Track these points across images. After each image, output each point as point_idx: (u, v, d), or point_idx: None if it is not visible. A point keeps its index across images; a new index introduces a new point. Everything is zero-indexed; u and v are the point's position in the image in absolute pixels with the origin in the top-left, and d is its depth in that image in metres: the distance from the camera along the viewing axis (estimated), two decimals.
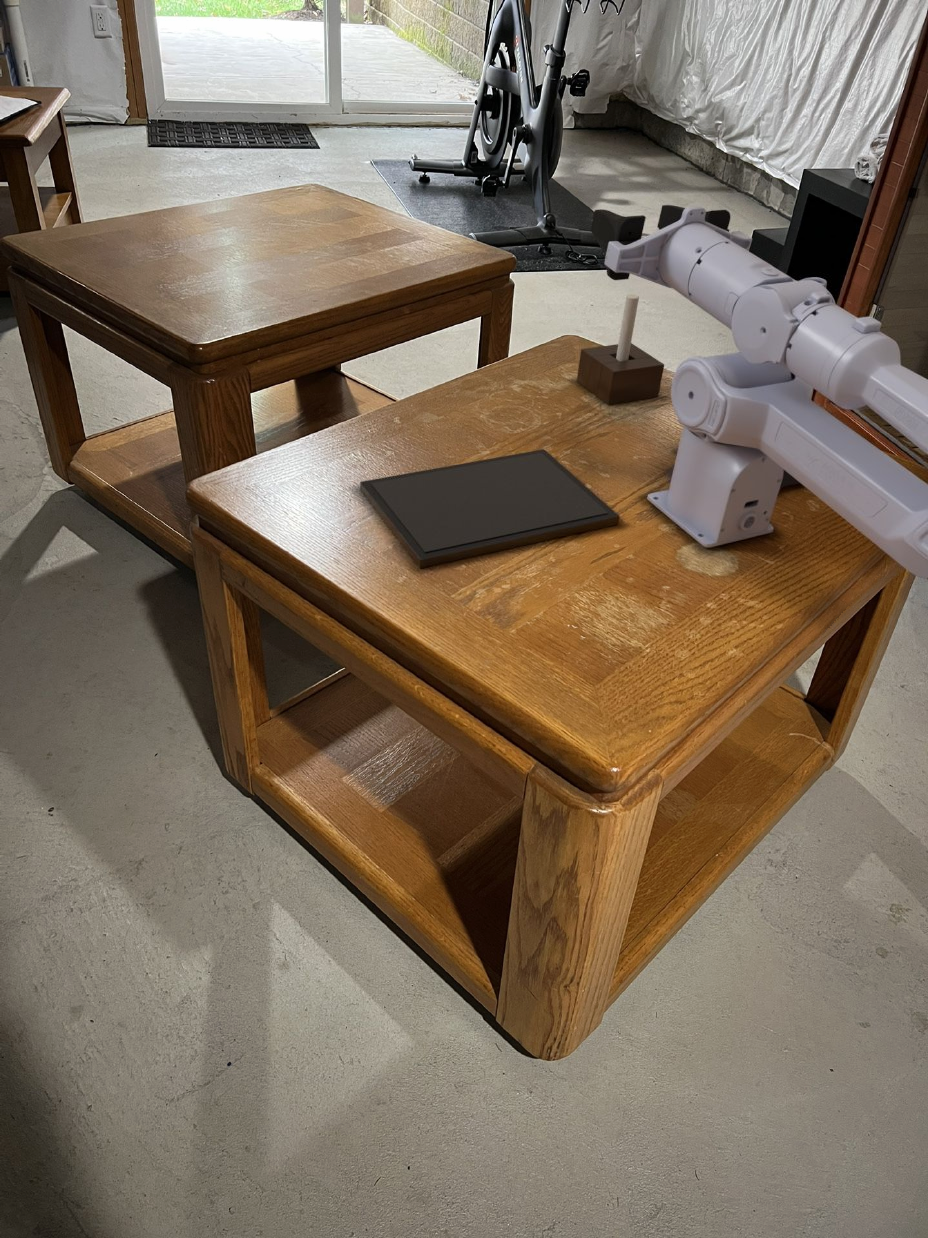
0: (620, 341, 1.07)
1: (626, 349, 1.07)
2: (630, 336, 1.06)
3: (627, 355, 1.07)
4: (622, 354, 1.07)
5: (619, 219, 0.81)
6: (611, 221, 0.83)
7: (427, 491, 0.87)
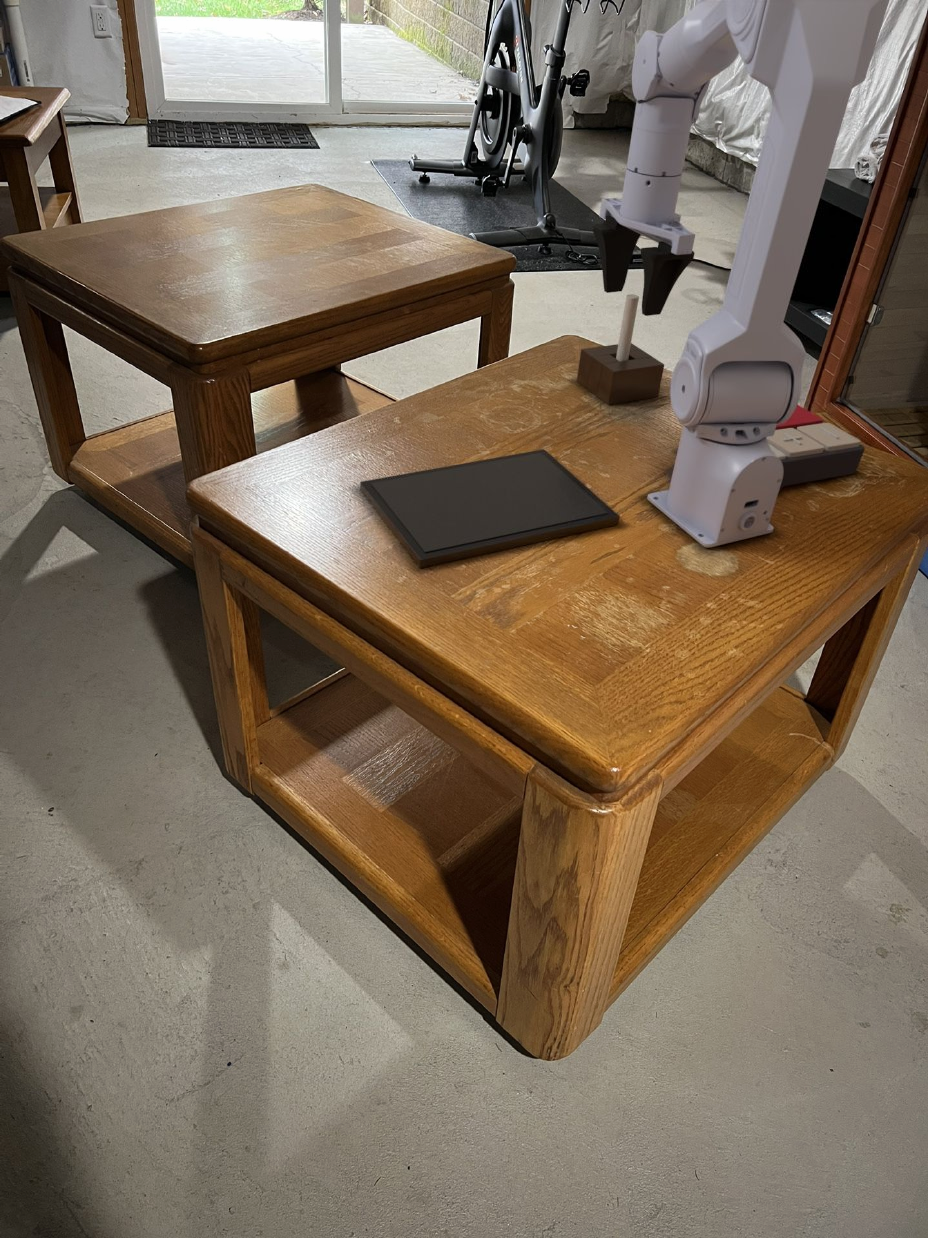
0: (620, 341, 1.07)
1: (626, 349, 1.07)
2: (630, 336, 1.06)
3: (627, 355, 1.07)
4: (622, 354, 1.07)
5: None
6: None
7: (427, 491, 0.87)
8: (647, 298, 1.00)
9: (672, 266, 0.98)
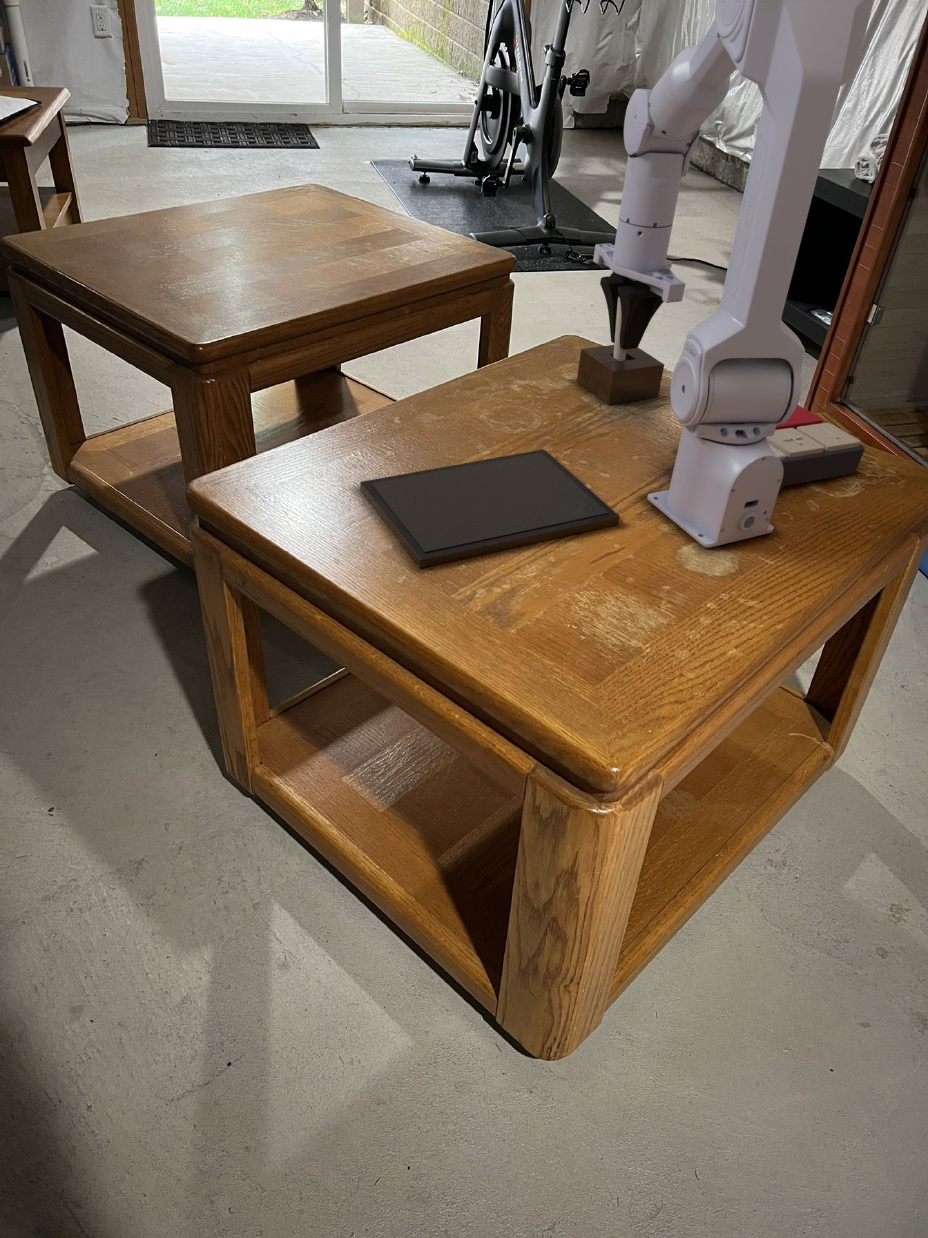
0: (616, 342, 1.06)
1: (622, 350, 1.07)
2: None
3: (624, 355, 1.07)
4: (619, 355, 1.07)
5: None
6: None
7: (427, 491, 0.87)
8: (624, 334, 1.04)
9: (648, 303, 1.03)
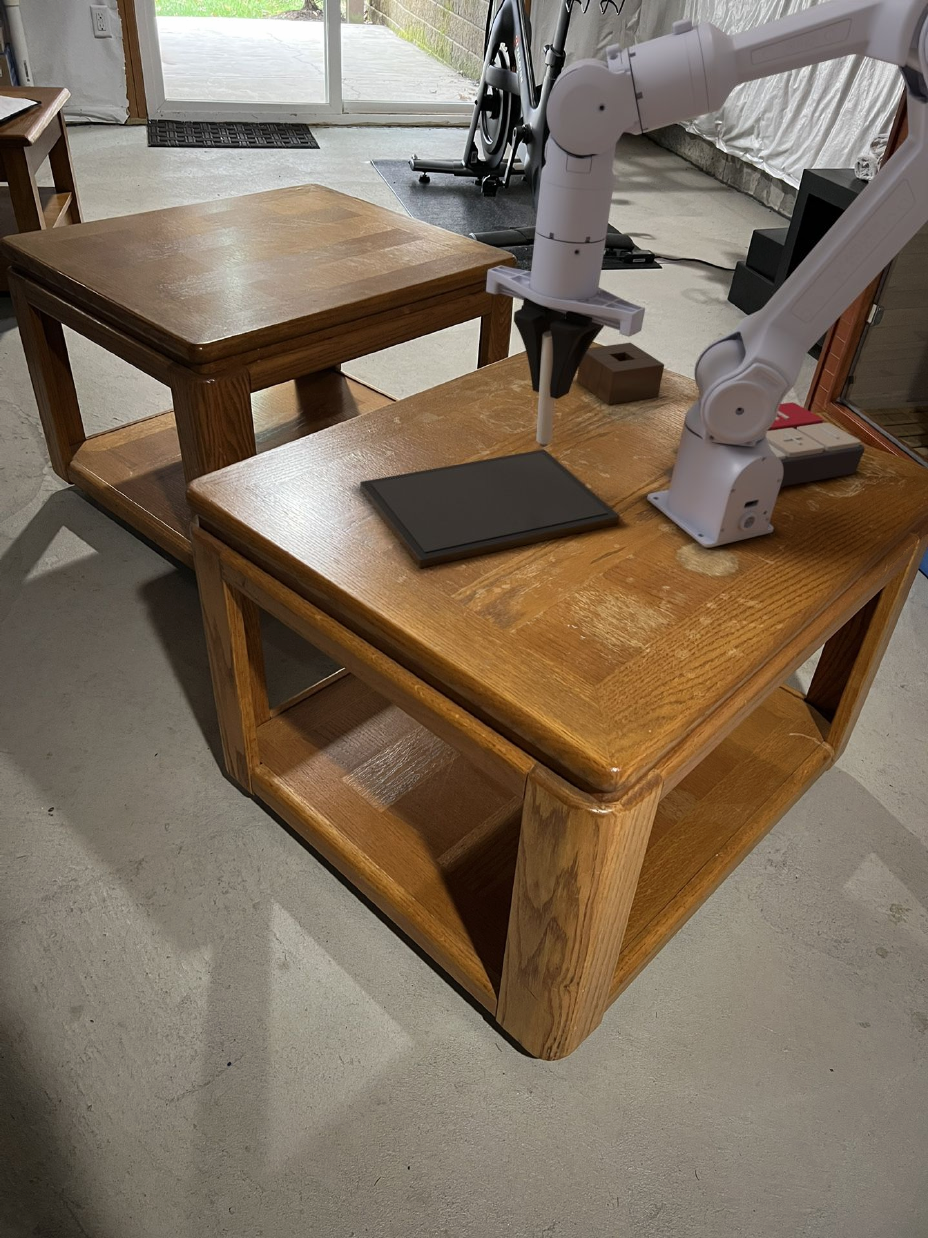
0: (543, 391, 0.82)
1: (552, 399, 0.83)
2: None
3: (553, 405, 0.84)
4: (548, 406, 0.83)
5: None
6: None
7: (427, 491, 0.87)
8: (559, 380, 0.81)
9: (580, 337, 0.80)
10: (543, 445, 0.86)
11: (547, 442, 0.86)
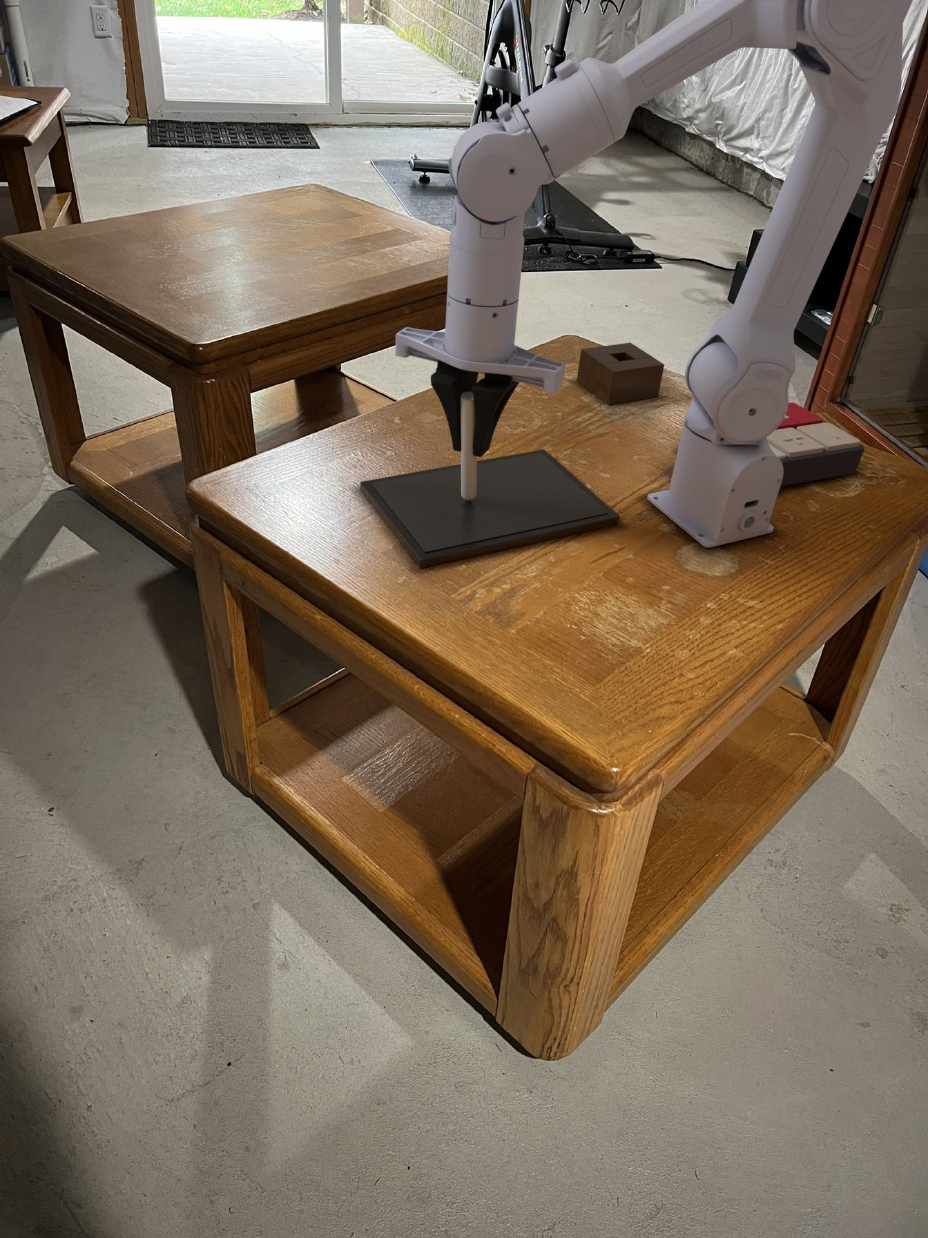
0: (466, 451, 0.81)
1: (475, 456, 0.82)
2: None
3: (476, 462, 0.83)
4: (472, 464, 0.82)
5: None
6: None
7: (427, 491, 0.87)
8: (482, 439, 0.80)
9: None
10: (469, 500, 0.85)
11: (473, 497, 0.85)
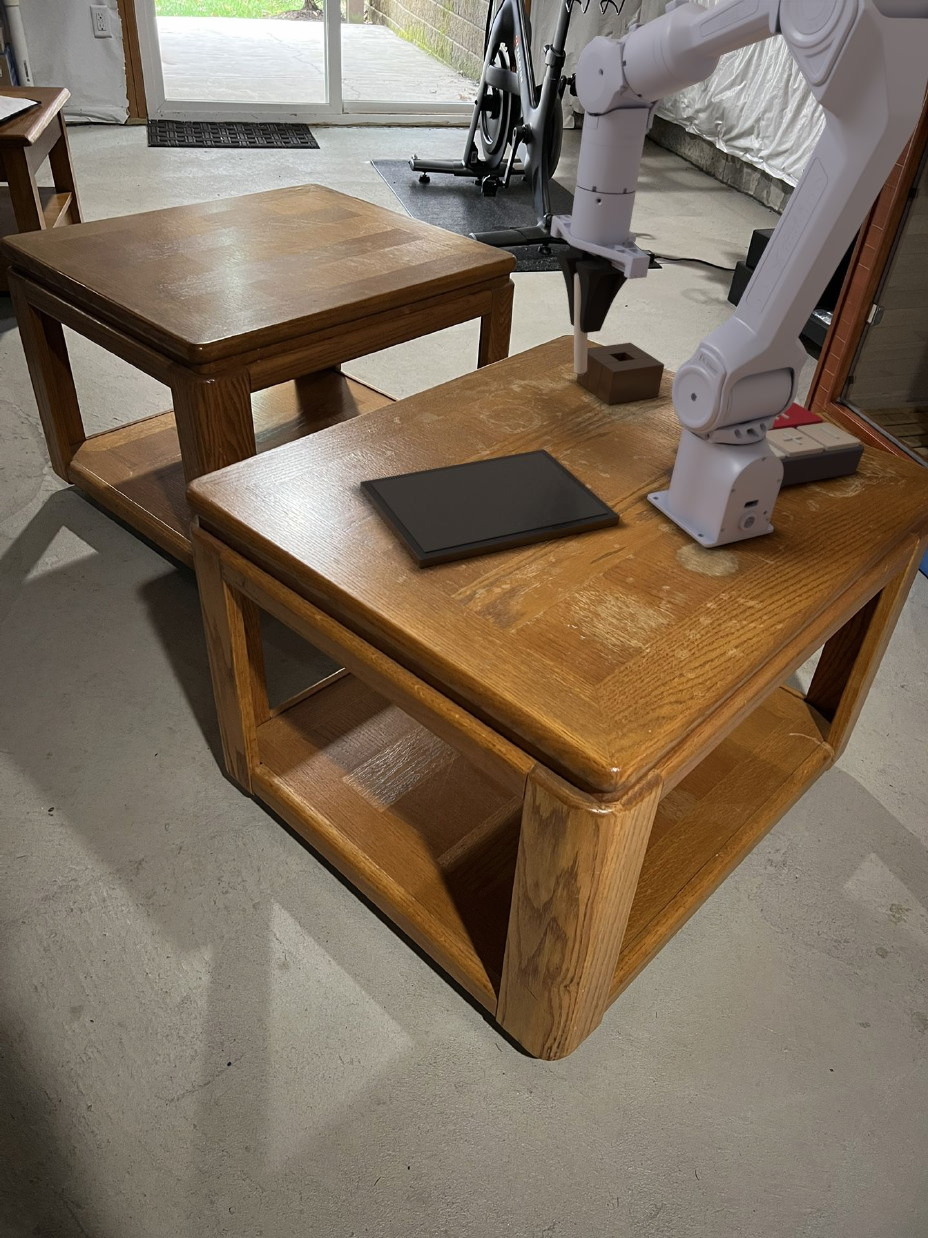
0: (575, 325, 0.96)
1: (583, 333, 0.96)
2: None
3: (585, 339, 0.97)
4: (579, 339, 0.96)
5: None
6: None
7: (427, 491, 0.87)
8: (584, 315, 0.94)
9: (610, 281, 0.93)
10: (578, 374, 0.99)
11: (580, 372, 0.99)
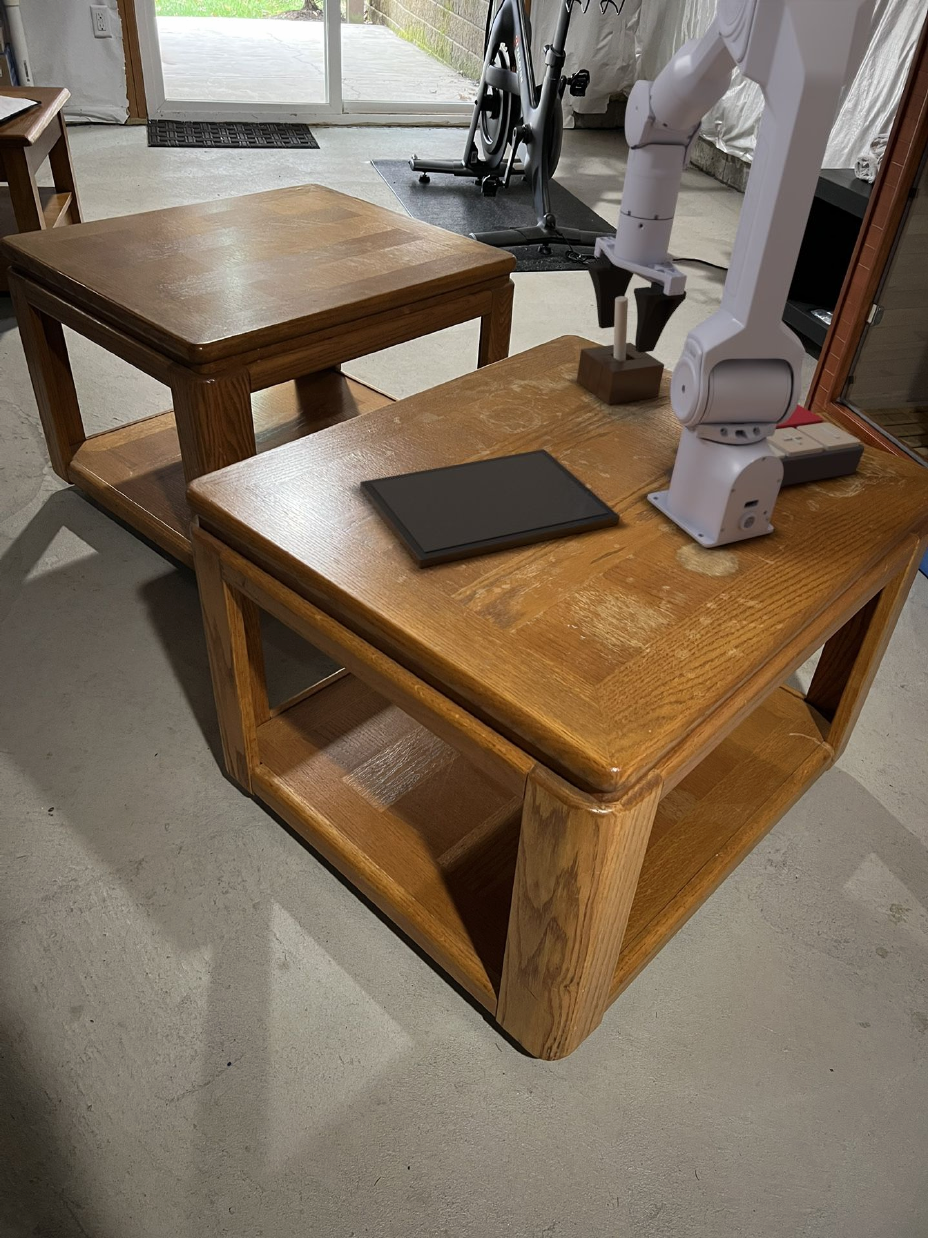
0: (615, 343, 1.06)
1: (622, 350, 1.07)
2: (624, 337, 1.06)
3: (624, 356, 1.07)
4: (619, 356, 1.07)
5: None
6: None
7: (427, 491, 0.87)
8: (640, 336, 1.02)
9: (665, 305, 1.01)
10: None
11: None
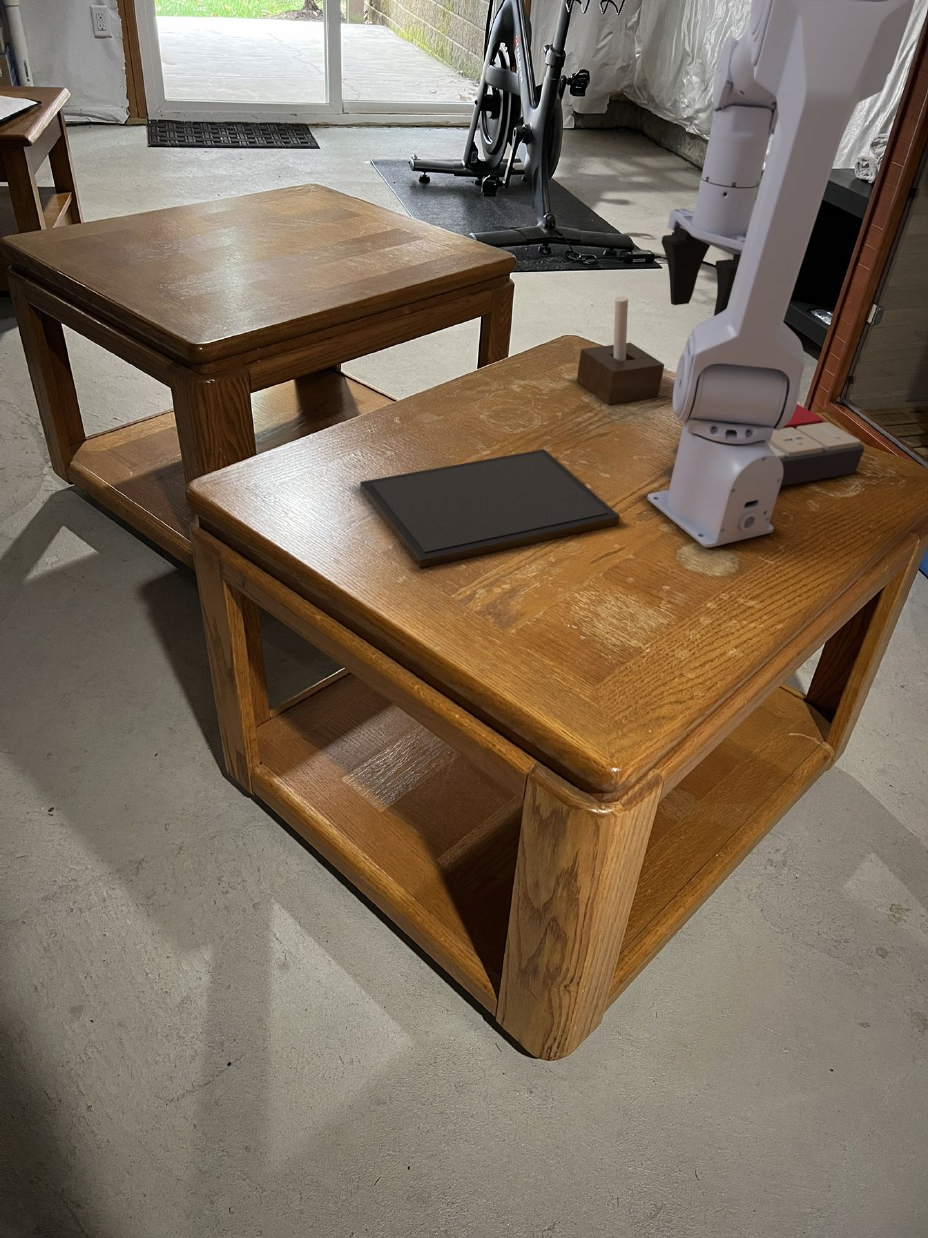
0: (615, 343, 1.06)
1: (622, 350, 1.07)
2: (624, 337, 1.06)
3: (624, 356, 1.07)
4: (619, 356, 1.07)
5: None
6: None
7: (427, 491, 0.87)
8: (720, 312, 0.97)
9: None
10: None
11: None
